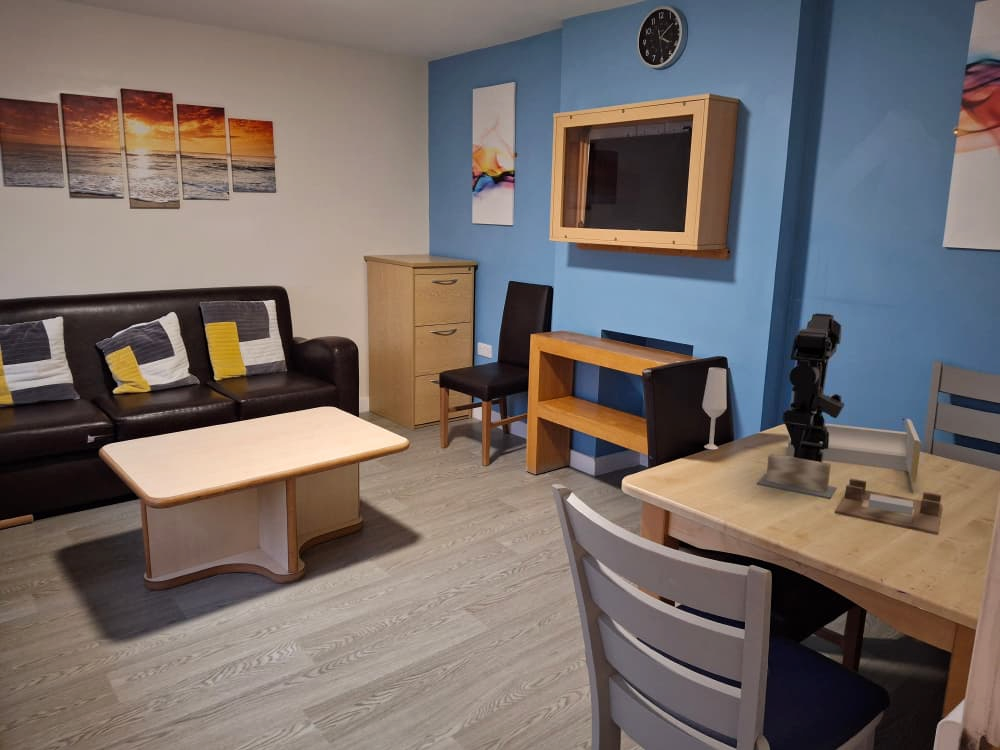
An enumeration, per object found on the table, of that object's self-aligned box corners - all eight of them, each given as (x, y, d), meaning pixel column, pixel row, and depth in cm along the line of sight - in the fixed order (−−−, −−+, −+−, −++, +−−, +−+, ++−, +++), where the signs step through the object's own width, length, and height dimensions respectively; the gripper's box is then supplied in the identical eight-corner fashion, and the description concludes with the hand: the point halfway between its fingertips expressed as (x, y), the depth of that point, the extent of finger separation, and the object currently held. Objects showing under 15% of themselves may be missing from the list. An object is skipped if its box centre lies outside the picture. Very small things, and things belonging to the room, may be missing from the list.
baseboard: (915, 488, 177) (921, 440, 175) (902, 486, 178) (908, 439, 176) (907, 460, 204) (912, 419, 203) (895, 459, 206) (900, 418, 204)
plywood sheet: (766, 480, 182) (768, 456, 181) (768, 477, 185) (771, 453, 183) (825, 492, 175) (828, 466, 173) (827, 489, 177) (830, 463, 176)
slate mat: (756, 484, 181) (756, 482, 180) (765, 475, 188) (765, 473, 188) (829, 498, 171) (830, 497, 171) (836, 488, 179) (836, 487, 179)
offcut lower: (860, 513, 161) (861, 505, 160) (863, 507, 165) (864, 499, 164) (911, 524, 155) (912, 516, 155) (913, 517, 159) (914, 509, 159)
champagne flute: (727, 453, 207) (734, 371, 203) (706, 453, 206) (712, 371, 202) (715, 446, 214) (722, 366, 210) (694, 447, 212) (701, 367, 208)
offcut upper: (868, 507, 160) (869, 499, 159) (869, 501, 163) (870, 493, 163) (912, 515, 156) (913, 507, 155) (911, 508, 159) (913, 501, 159)
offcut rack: (834, 513, 162) (836, 497, 162) (848, 489, 179) (849, 475, 178) (937, 534, 151) (940, 518, 151) (942, 507, 168) (944, 492, 167)
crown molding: (911, 435, 198) (914, 429, 195) (911, 475, 193) (914, 469, 190) (790, 421, 210) (790, 415, 207) (786, 459, 204) (787, 453, 201)
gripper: (837, 393, 163) (829, 459, 166) (849, 381, 178) (842, 442, 181) (785, 386, 169) (778, 451, 172) (801, 376, 184) (795, 435, 187)
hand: (800, 445), depth 178 cm, fingers open, 9 cm apart
